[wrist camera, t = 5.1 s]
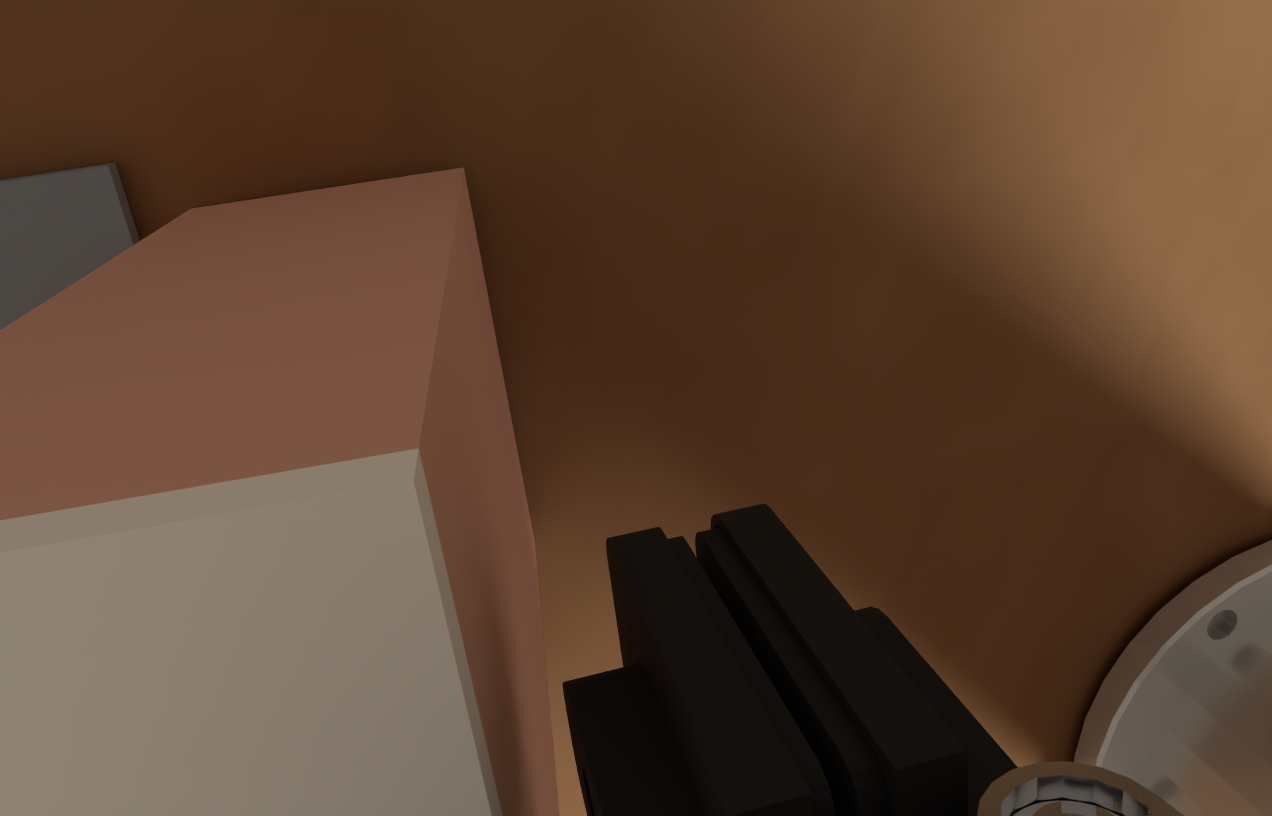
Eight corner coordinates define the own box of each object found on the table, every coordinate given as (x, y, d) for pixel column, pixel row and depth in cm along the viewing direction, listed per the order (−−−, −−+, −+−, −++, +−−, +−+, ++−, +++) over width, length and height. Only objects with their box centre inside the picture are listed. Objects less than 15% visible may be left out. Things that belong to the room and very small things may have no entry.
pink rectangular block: (463, 167, 19) (413, 480, 6) (534, 542, 22) (603, 1291, 9) (190, 208, 19) (-480, 636, 6) (300, 584, 22) (19, 1429, 9)
